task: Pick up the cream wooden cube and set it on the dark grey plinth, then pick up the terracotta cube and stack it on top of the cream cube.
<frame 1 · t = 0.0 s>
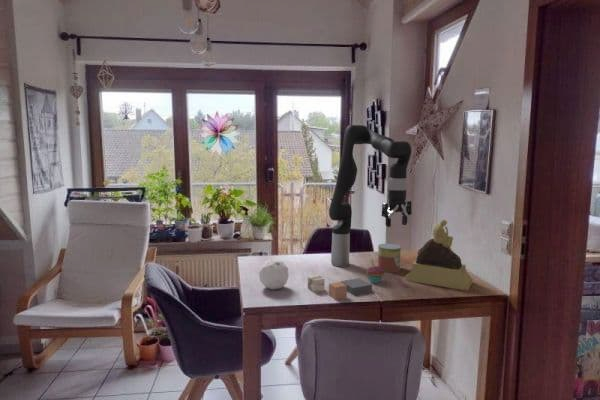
hand: (396, 225, 189), 29 cm above the table, tool pointing down, fingers open, 8 cm apart
plinth: (356, 289, 195), on the table
terracotta cube: (337, 296, 187), on the table
cupcake: (375, 281, 206), on the table
cream cube: (315, 289, 195), on the table
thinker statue: (438, 281, 206), on the table
canned food: (388, 269, 225), on the table
geodesic sphere: (274, 288, 197), on the table
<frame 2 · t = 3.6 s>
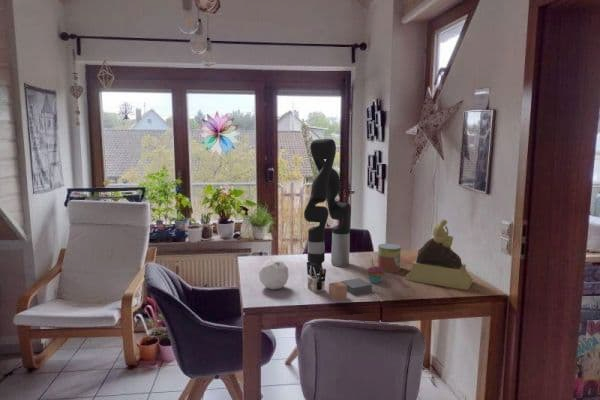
hand: (315, 287, 195), 1 cm above the table, tool pointing down, fingers closed on cream cube, 5 cm apart
cream cube: (315, 289, 195), on the table, touching gripper
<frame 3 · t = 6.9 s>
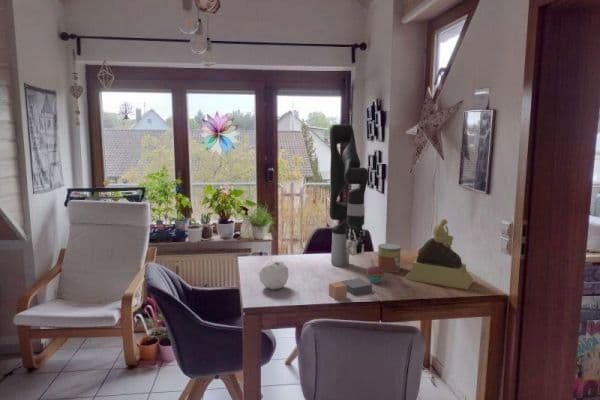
hand: (355, 251, 193), 17 cm above the table, tool pointing down, fingers closed on cream cube, 5 cm apart
cream cube: (354, 253, 193), point 17 cm above the table, touching gripper
when the fingers open (5 cm above the table, at t = 9.9 s): cream cube drops 1 cm, resting on plinth.
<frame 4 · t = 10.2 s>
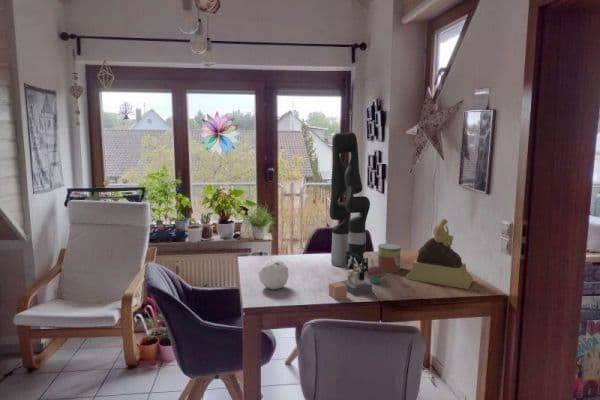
hand: (356, 277, 195), 6 cm above the table, tool pointing down, fingers open, 8 cm apart
cream cube: (356, 282, 195), point 3 cm above the table, touching plinth
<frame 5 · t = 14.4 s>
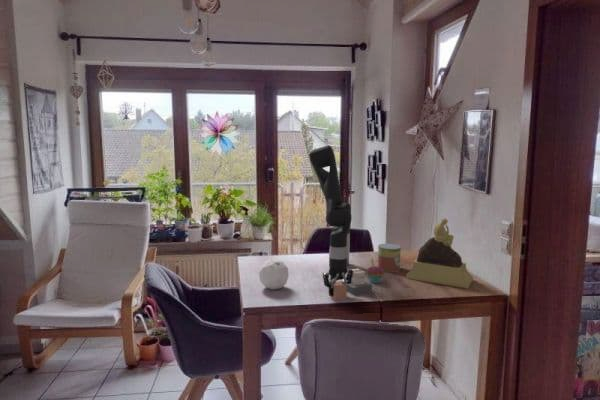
hand: (337, 294, 186), 1 cm above the table, tool pointing down, fingers closed on terracotta cube, 5 cm apart
terracotta cube: (337, 296, 186), on the table, touching gripper
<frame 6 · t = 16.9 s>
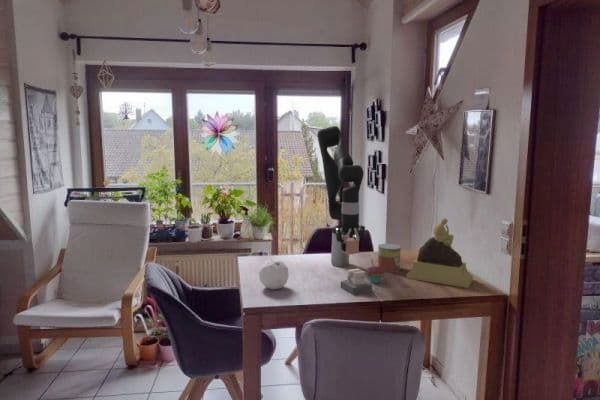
hand: (349, 250, 190), 19 cm above the table, tool pointing down, fingers closed on terracotta cube, 5 cm apart
terracotta cube: (349, 252, 190), point 18 cm above the table, touching gripper
when the fingers open (10 cm above the table, at t = 19.4 s): terracotta cube drops 1 cm, resting on cream cube.
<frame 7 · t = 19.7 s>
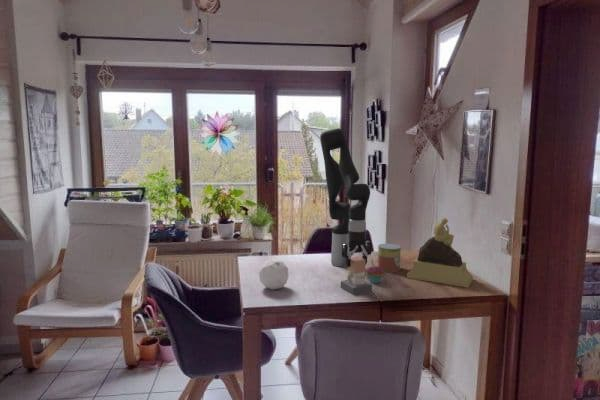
hand: (356, 265, 194), 11 cm above the table, tool pointing down, fingers open, 8 cm apart
terracotta cube: (356, 270, 194), point 8 cm above the table, touching cream cube
cream cube: (356, 282, 195), point 3 cm above the table, touching plinth, terracotta cube
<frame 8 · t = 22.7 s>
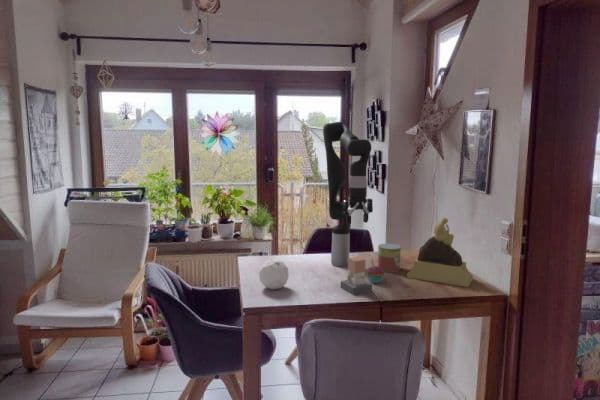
hand: (357, 223, 191), 30 cm above the table, tool pointing down, fingers open, 8 cm apart
at the end: cream cube 0.0 cm off-centre on the plinth, point 3.0 cm above the plinth's base; terracotta cube 0.1 cm off-centre on the cream cube, point 5.5 cm above the cream cube's base; terracotta cube tilted 0° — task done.
